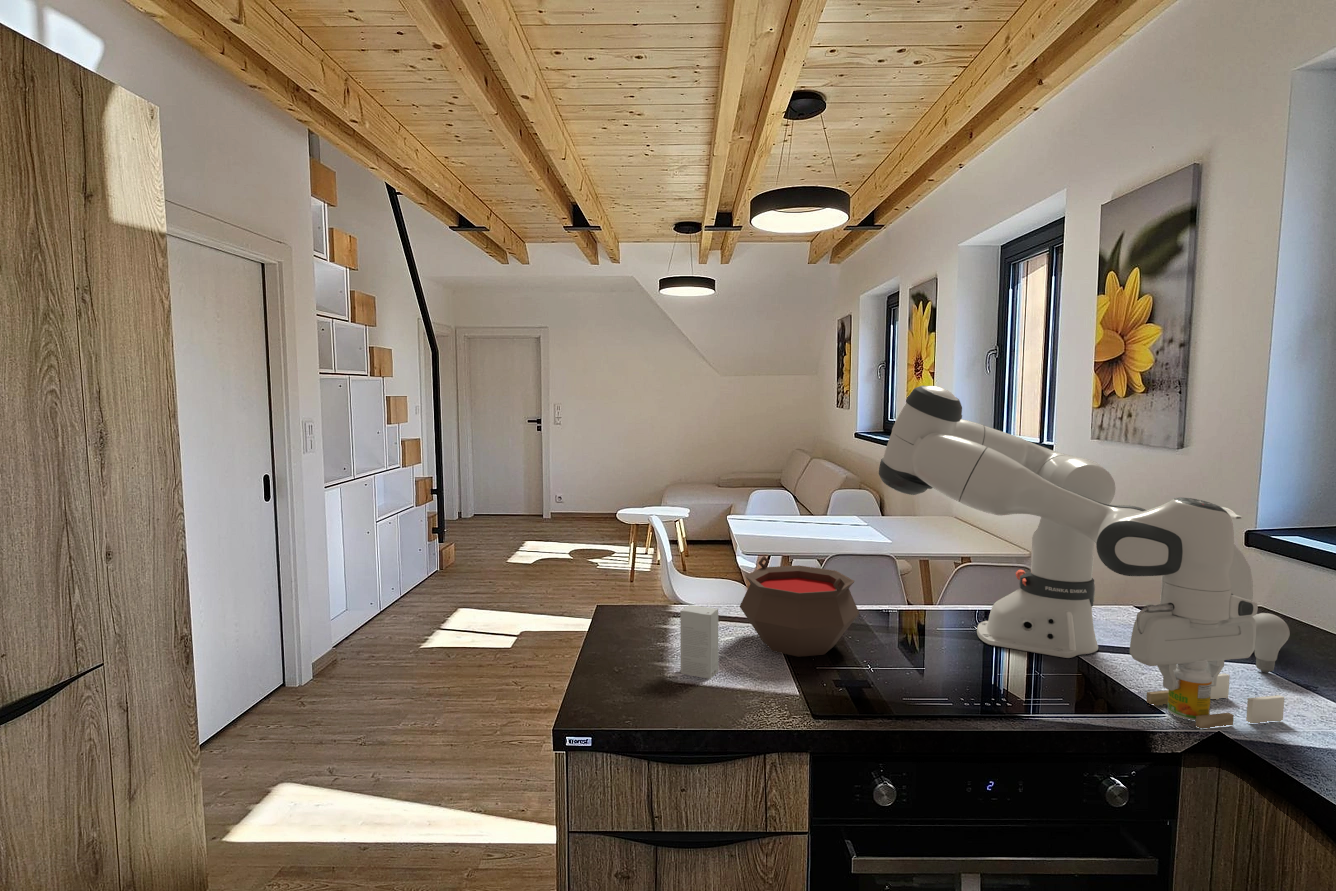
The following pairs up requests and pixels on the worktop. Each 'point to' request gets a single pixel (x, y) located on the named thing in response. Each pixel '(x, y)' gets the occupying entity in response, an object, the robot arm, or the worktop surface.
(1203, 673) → the supplement bottle
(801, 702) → the worktop surface
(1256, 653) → the lightbulb
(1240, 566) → the soap bottle
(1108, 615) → the worktop surface
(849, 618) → the brown pot
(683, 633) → the skincare box
